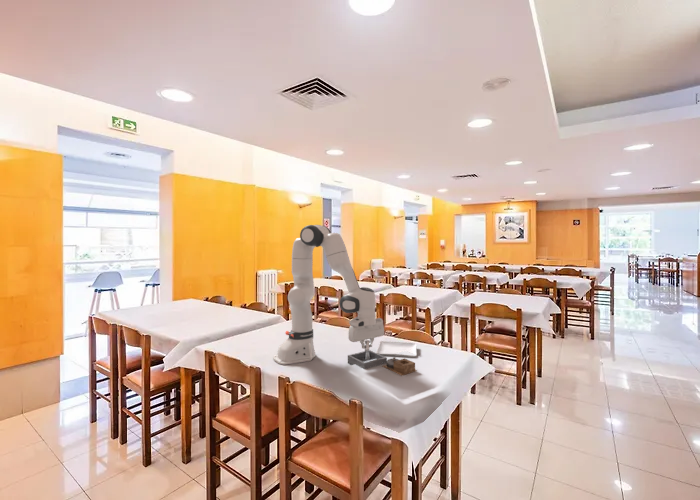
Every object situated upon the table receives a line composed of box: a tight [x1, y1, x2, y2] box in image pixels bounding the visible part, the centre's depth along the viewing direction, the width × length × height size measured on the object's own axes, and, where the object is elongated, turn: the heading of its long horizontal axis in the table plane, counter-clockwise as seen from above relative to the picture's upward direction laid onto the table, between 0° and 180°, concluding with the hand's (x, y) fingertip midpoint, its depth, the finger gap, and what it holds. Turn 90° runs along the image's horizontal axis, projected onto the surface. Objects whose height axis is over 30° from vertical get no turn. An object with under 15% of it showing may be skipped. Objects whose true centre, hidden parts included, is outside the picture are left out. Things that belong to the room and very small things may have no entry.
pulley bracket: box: [381, 356, 418, 377], centre depth 159 cm, size 10×14×6 cm
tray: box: [347, 349, 388, 370], centre depth 169 cm, size 14×14×4 cm
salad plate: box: [375, 340, 418, 358], centre depth 185 cm, size 21×21×3 cm
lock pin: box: [364, 339, 370, 359], centre depth 168 cm, size 2×2×9 cm
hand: (366, 347), depth 168 cm, fingers closed on lock pin, 2 cm apart
